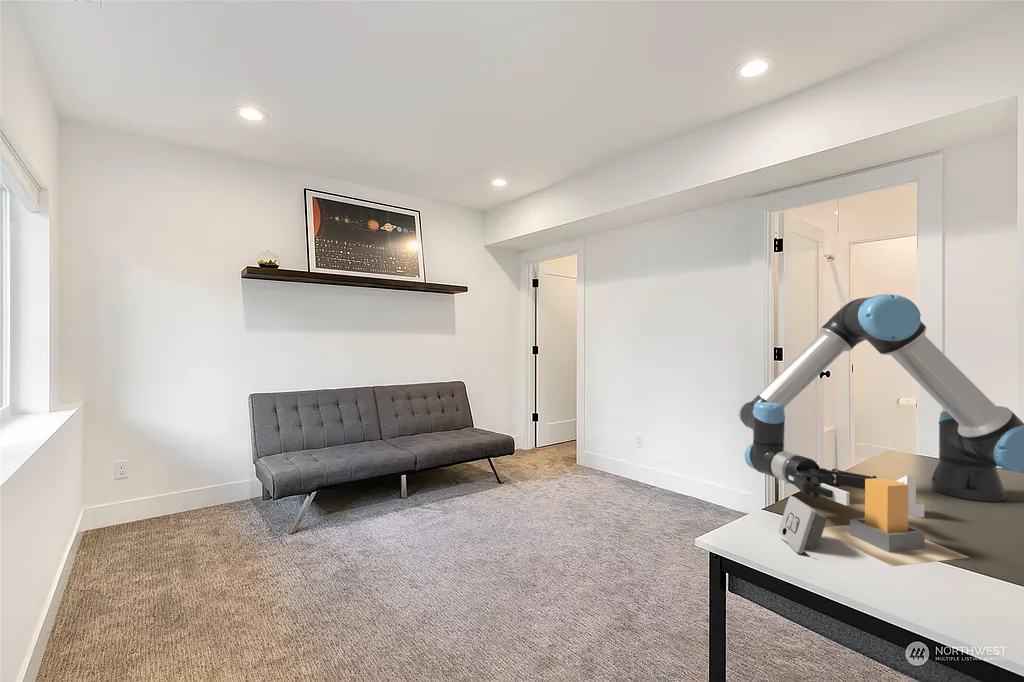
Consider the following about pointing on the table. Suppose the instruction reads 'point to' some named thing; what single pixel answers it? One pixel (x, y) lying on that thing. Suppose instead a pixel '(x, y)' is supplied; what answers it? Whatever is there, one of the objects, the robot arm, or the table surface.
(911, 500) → the white wedge bracket
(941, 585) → the table surface
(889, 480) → the connector plug
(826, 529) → the mounting board
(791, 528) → the electrical switch
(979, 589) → the table surface
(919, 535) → the socket cup
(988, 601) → the table surface
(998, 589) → the table surface
